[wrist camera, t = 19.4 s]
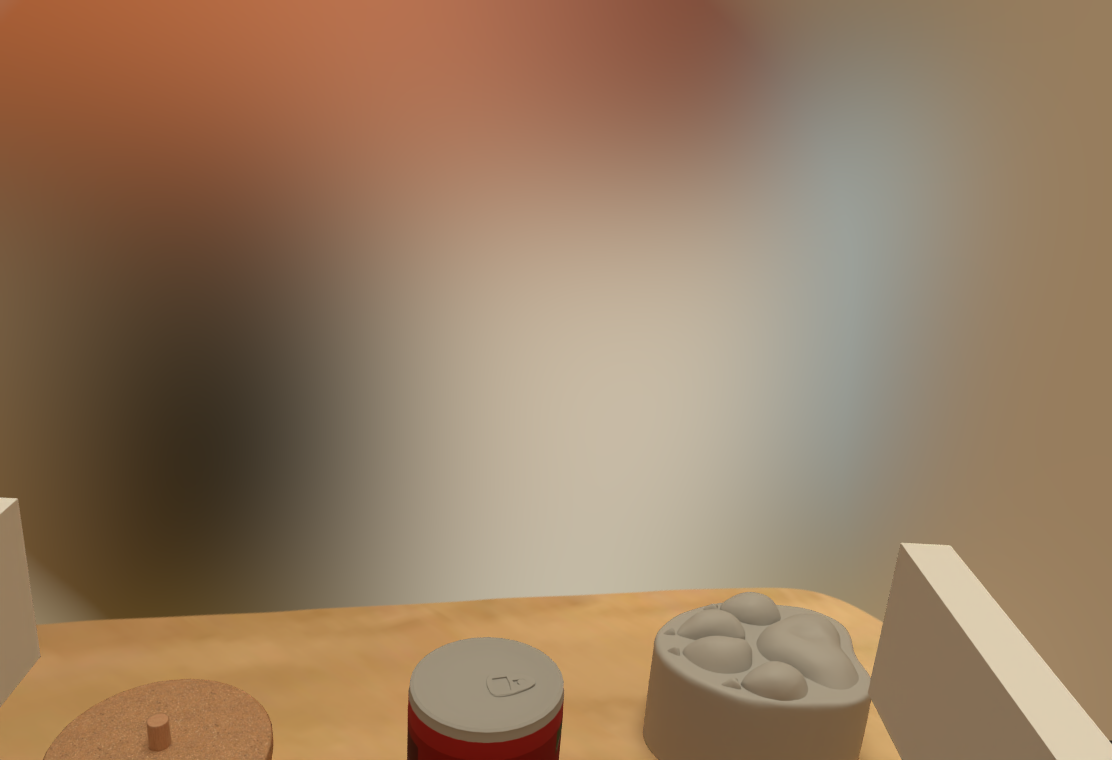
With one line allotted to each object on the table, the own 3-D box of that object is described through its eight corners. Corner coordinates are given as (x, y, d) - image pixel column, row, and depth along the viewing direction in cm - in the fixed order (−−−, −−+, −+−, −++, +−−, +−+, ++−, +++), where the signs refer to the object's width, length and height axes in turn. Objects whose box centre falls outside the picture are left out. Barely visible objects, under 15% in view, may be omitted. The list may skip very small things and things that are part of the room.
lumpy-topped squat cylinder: (866, 807, 56) (893, 688, 54) (650, 796, 56) (666, 676, 53) (820, 693, 66) (841, 588, 63) (636, 683, 66) (649, 576, 63)
